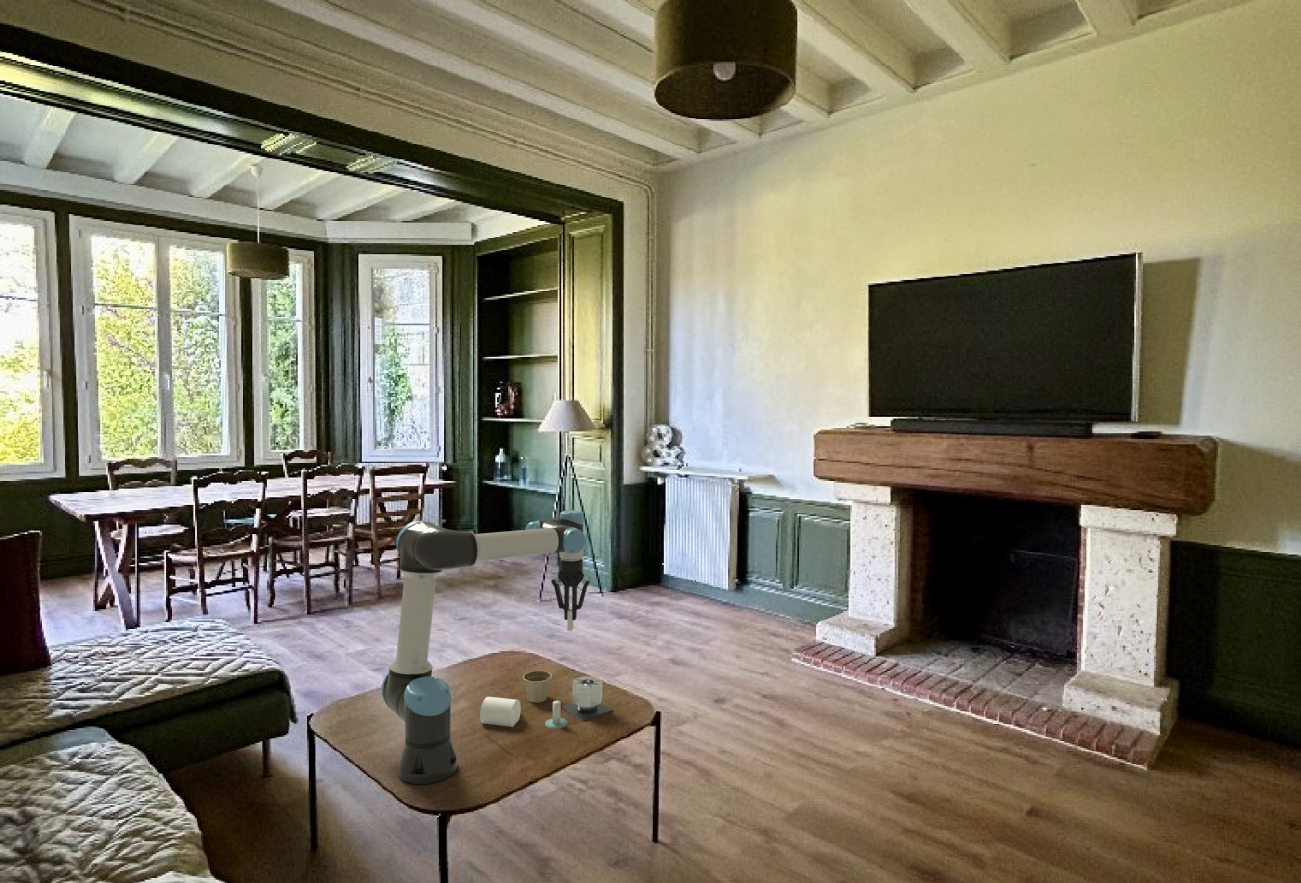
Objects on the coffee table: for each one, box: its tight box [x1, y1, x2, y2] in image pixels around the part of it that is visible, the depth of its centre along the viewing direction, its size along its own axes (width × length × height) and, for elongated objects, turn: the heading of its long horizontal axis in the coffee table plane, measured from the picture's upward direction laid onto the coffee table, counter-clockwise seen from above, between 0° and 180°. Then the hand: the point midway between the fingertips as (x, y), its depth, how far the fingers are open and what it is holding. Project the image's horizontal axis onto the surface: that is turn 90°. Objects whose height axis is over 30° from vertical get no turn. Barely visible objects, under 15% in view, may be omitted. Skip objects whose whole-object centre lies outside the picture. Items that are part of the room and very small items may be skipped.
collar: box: [571, 676, 603, 707], centre depth 230 cm, size 9×9×6 cm
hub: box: [561, 682, 615, 722], centre depth 231 cm, size 12×12×9 cm
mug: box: [479, 696, 522, 728], centre depth 223 cm, size 12×10×8 cm
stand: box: [544, 700, 569, 730], centre depth 221 cm, size 7×7×8 cm
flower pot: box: [522, 670, 553, 703], centre depth 238 cm, size 9×9×9 cm
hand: (570, 629), depth 237 cm, fingers closed
